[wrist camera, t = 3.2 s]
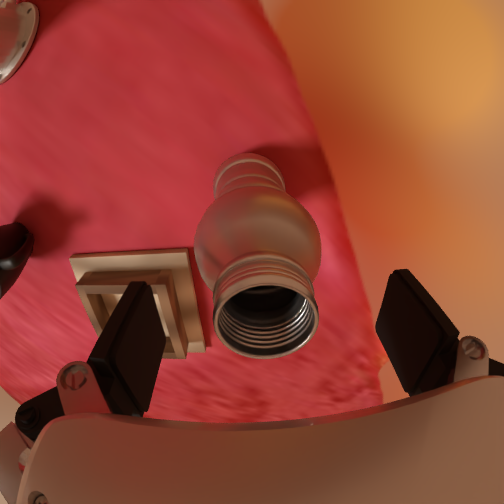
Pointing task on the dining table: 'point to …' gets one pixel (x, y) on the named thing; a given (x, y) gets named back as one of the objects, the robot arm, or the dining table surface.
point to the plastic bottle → (258, 260)
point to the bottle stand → (154, 274)
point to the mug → (13, 253)
